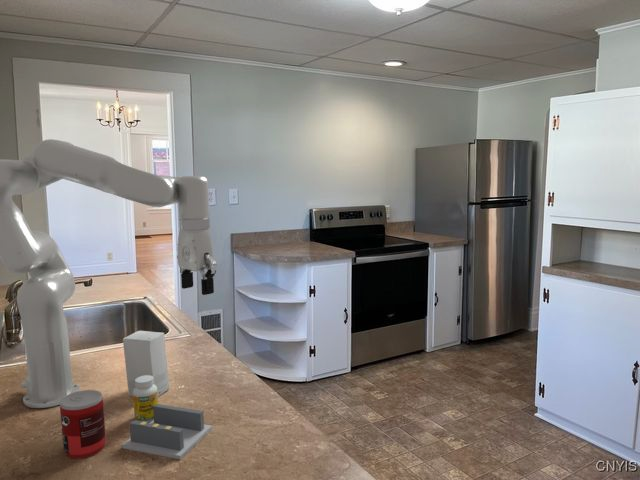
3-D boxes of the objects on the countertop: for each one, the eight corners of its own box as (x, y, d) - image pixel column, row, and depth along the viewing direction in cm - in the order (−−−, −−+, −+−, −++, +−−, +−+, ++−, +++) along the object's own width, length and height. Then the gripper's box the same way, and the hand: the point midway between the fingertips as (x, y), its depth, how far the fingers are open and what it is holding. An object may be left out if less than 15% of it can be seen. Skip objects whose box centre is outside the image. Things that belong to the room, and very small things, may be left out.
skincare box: (169, 389, 127) (166, 332, 125) (153, 401, 121) (149, 340, 118) (143, 385, 129) (139, 329, 127) (126, 396, 123) (121, 337, 121)
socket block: (121, 448, 100) (120, 425, 99) (158, 419, 111) (156, 399, 111) (180, 459, 96) (179, 436, 95) (212, 429, 107) (211, 407, 106)
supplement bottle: (155, 410, 116) (153, 371, 115) (162, 419, 111) (159, 379, 110) (132, 416, 113) (129, 377, 112) (137, 426, 109) (134, 385, 107)
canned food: (73, 439, 104) (68, 390, 102) (111, 437, 104) (108, 388, 103) (57, 460, 96) (52, 408, 94) (98, 458, 97) (94, 405, 95)
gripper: (164, 223, 127) (167, 287, 129) (200, 229, 115) (203, 299, 117) (189, 221, 132) (192, 283, 134) (226, 226, 120) (229, 293, 122)
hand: (197, 290), depth 126 cm, fingers open, 9 cm apart
